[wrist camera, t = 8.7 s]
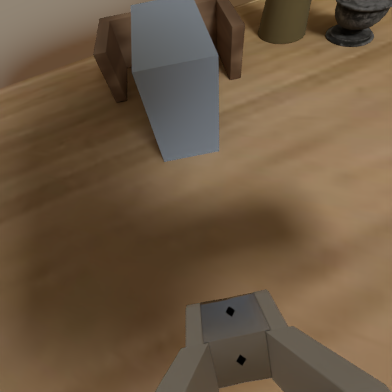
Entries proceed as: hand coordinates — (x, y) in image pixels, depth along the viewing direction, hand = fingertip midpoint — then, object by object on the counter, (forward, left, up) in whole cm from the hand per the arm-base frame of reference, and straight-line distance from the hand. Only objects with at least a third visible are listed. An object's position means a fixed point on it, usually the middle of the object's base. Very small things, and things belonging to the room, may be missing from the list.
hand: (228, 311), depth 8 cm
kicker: (0, +17, -5) cm, 18 cm away
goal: (0, +26, -5) cm, 26 cm away
